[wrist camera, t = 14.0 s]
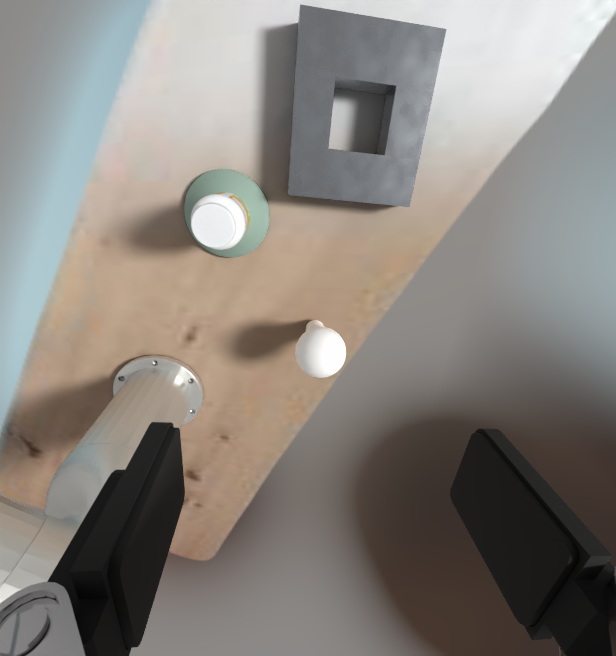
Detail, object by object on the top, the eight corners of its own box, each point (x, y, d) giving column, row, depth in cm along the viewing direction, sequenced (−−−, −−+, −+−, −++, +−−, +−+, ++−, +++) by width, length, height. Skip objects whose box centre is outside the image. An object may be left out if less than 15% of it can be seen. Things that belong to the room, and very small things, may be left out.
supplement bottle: (201, 232, 39) (178, 246, 30) (208, 185, 37) (187, 186, 28) (244, 244, 40) (235, 262, 31) (254, 200, 38) (247, 205, 29)
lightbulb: (318, 351, 48) (329, 396, 38) (284, 331, 46) (285, 372, 36) (343, 320, 46) (361, 357, 36) (308, 297, 44) (317, 330, 34)
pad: (267, 259, 42) (267, 260, 41) (187, 253, 40) (186, 254, 40) (271, 174, 38) (271, 174, 37) (182, 164, 36) (181, 164, 36)
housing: (399, 205, 40) (409, 207, 37) (287, 194, 39) (288, 194, 35) (430, 43, 34) (446, 29, 31) (298, 22, 32) (300, 4, 29)
